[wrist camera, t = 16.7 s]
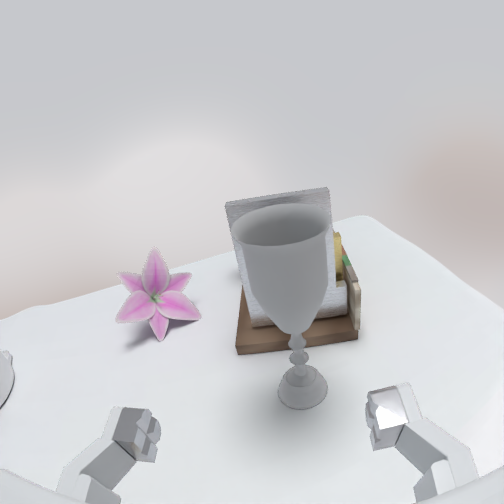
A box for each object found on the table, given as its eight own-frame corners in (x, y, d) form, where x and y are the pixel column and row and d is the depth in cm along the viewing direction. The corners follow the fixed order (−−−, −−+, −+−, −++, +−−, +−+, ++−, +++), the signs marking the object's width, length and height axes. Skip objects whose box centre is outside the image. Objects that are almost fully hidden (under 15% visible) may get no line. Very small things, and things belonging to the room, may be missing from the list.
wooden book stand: (238, 354, 35) (212, 267, 30) (247, 268, 53) (232, 201, 48) (359, 338, 34) (361, 245, 28) (331, 256, 51) (324, 187, 46)
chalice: (261, 374, 32) (223, 217, 24) (320, 355, 33) (306, 197, 25) (280, 427, 25) (242, 257, 17) (348, 403, 26) (351, 228, 18)
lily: (120, 355, 40) (113, 319, 33) (116, 289, 47) (112, 247, 41) (201, 348, 44) (211, 312, 38) (187, 286, 52) (194, 245, 45)
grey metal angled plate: (252, 326, 36) (224, 206, 30) (255, 285, 44) (233, 182, 38) (347, 313, 35) (341, 189, 28) (333, 274, 43) (324, 168, 36)
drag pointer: (332, 304, 37) (328, 238, 33) (330, 299, 38) (326, 234, 34) (343, 303, 37) (340, 236, 33) (341, 297, 38) (338, 232, 34)
